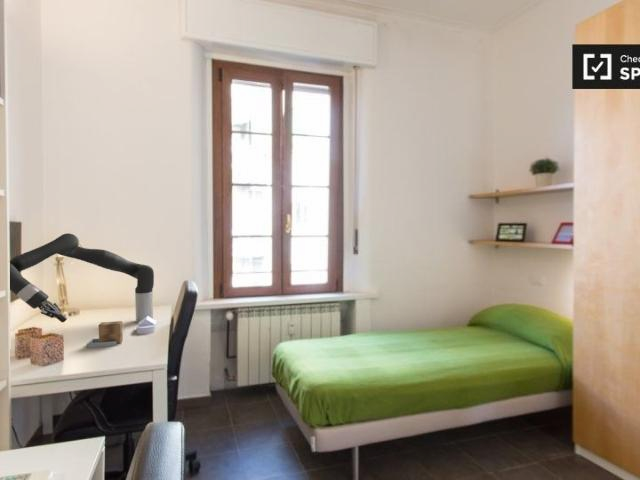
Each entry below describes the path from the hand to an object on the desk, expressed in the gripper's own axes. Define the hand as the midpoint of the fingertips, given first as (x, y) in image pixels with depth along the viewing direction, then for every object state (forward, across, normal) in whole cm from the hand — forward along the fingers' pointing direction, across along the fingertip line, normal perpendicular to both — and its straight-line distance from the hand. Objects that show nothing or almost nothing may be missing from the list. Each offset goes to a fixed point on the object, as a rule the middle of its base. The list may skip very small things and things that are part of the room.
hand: (65, 320), depth 173 cm
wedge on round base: (+32, -19, +13) cm, 39 cm away
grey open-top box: (+20, 0, +2) cm, 20 cm away
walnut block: (+22, 0, +4) cm, 23 cm away
